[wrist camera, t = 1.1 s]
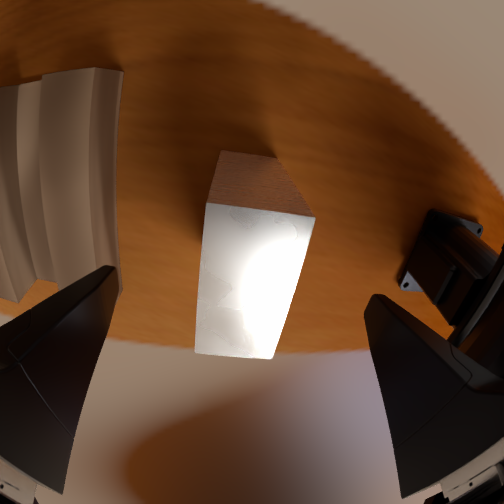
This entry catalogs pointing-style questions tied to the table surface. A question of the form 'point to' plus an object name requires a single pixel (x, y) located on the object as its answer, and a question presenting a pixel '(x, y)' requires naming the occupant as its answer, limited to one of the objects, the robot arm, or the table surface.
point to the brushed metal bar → (249, 256)
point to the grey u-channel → (58, 179)
